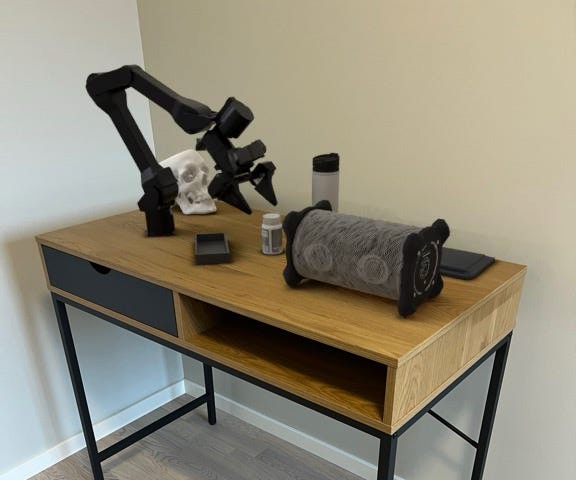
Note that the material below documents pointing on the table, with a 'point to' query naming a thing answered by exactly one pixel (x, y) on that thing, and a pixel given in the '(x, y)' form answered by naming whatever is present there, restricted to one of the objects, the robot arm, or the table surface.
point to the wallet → (463, 263)
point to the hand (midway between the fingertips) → (263, 209)
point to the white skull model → (191, 182)
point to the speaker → (365, 254)
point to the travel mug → (326, 179)
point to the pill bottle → (272, 234)
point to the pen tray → (211, 248)
